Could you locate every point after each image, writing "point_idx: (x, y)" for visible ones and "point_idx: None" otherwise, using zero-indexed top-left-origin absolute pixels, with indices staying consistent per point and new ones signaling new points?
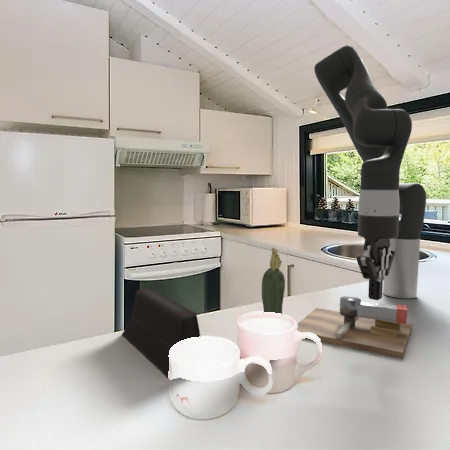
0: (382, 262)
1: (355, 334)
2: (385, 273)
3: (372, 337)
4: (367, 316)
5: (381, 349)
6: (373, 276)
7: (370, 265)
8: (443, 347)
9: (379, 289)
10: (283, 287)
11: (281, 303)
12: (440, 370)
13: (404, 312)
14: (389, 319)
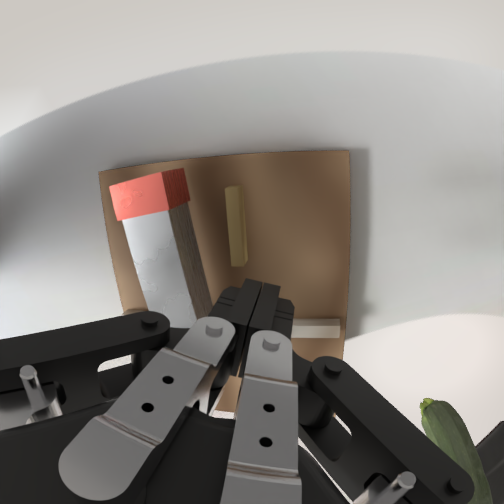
0: (273, 426)
1: (282, 293)
2: (168, 333)
3: (277, 247)
4: (206, 290)
5: (349, 209)
6: (365, 386)
7: (445, 454)
8: (190, 71)
9: (275, 309)
10: (482, 497)
11: (476, 467)
12: (362, 61)
13: (168, 180)
14: (189, 223)
